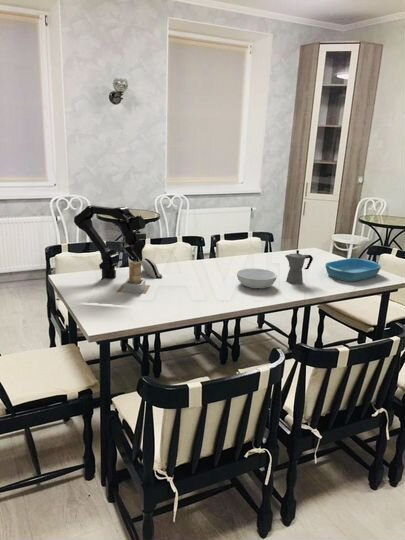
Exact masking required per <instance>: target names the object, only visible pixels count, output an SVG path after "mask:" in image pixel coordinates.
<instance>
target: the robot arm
mask: <svg viewBox="0 0 405 540" xmlns="http://www.w3.org/2000/svg"><path fill="white" fill-rule="evenodd" d="M95 215H101V216H110V217H112V218H113V219H116V222H115V224H114V226H117V227H119V229H120V232H121V236H120V237H122V238H123V240H121V242H120V248H122V249H123V250H124V251H125V252H126V253H127V254H128V255H129V256H130V257H131V258H132V259H133V260H134V259H136V258H137V259H138V260H139V262H141V261H142V259H143V250H144V249H145V247H146V244H145V242H143V241H142V240H144V241H147V233H145V232H141V231H140V230H142V229H143V230H144V229H146V225H147V224H146V221H145V219H144V217H143V216H142V215H141V214H139V215H136V216H135V215H134V214H133V213H132V212H131V211H130V209H129V208H128V207H127V206H118V207H108V206H101V205H100V206H99V205H95V204H91V205H87V206H86V207H85V208H84V209H83V210H81V211H80V212H79V213H78V214H76V215H75V216H74V218H73V223H74V224H75V226H77V228H78V229H80V230H82V231H84V233H86V235H87V237H88V238H89V240H90V241H91V242H92V244H93V245H94V246H95V248H96V249H97V250H98V252H99V253H100V257H101V258H100V259H101V261H102V262H101V263H99V264H98V267H99V269H100V270H101V279H100V280H101V281H102V280H103V279H106V280H110V279H116V277H117V270H116V267H117V266H118V264H119V263H120V257H119V253H118V252H117V251H116V249H115V248H112V249H111V248H110V247H108V245H107V244H106V242H105V241H104V239H102V237H101V236H100V234H99V233H98V231H97V229H95V227H94V225H93V220H92V219H93V218H94V216H95Z"/></svg>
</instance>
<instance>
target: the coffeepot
mask: <svg viewBox="0 0 405 540" xmlns="http://www.w3.org/2000/svg"><path fill="white" fill-rule="evenodd" d="M295 252H296V253H294V252H293V253H289V254H286V255H284V256H285V258H286V259H287V261H288V267H289V269H288V272H287V277H286V279H285V280H286V282H287V283H288V284H292V285H302V284H303V282H304V280H303V278H304V277H303V268H304V270H309V268H310V267H311V264H312V262H313V260H314V257H313V256H312V255H311V254H301V253H300V250H298V249H297V250H295ZM306 259H309V260H308V262H307V265H306V267H304V263H305V260H306Z"/></svg>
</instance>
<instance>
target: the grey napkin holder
mask: <svg viewBox="0 0 405 540" xmlns="http://www.w3.org/2000/svg"><path fill="white" fill-rule="evenodd" d="M140 262H141V268H142V269H143V271H144V272H145V273H146V274H148V275H149V276H150V277H152V278H153V279H157V278H163V277H164V276H163V275H162V273H160V272H159V269H158V267H157V264H156V263H155V262H154V261H153V260H152V259H151V258H149V257H145V258H144V259H143V258H142V261H140Z"/></svg>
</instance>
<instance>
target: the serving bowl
mask: <svg viewBox="0 0 405 540" xmlns="http://www.w3.org/2000/svg"><path fill="white" fill-rule="evenodd" d="M277 277H278V274H277V273H276V272H274V271H271V270H269V269H264V268H251V267H250V268H243V269H240V270H237V272H236V278H237V280H238V281H239V283H240V284H242V285H243V286H245V287H247V288H250V289H257V288H259V289H264V288H269V287H271V286H273V285H274V284H275V282H276V280H277Z"/></svg>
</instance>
